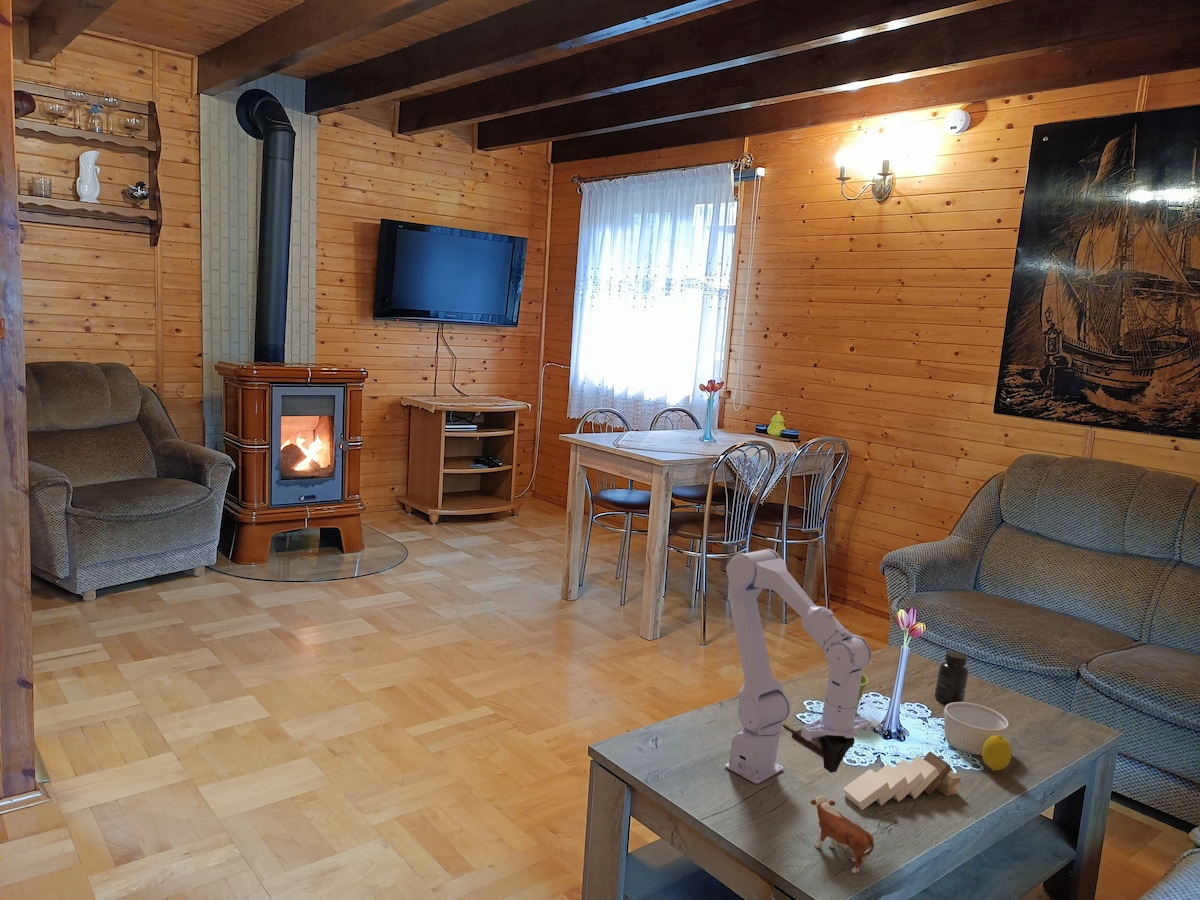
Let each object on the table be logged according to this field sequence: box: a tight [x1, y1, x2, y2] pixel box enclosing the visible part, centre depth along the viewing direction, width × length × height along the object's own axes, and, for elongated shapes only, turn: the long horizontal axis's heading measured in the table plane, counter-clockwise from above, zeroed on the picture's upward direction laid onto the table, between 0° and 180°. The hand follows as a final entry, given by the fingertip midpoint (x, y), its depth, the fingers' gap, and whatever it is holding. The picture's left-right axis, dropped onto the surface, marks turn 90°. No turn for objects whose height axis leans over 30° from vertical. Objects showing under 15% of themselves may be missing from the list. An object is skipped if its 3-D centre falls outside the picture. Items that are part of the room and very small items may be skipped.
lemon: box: [981, 735, 1012, 772], centre depth 182 cm, size 6×6×8 cm
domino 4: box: [907, 755, 939, 800], centre depth 171 cm, size 2×5×7 cm
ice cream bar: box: [782, 721, 823, 757], centre depth 188 cm, size 5×2×15 cm
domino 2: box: [874, 763, 908, 806], centre depth 168 cm, size 2×5×7 cm
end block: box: [935, 770, 962, 797], centre depth 174 cm, size 3×7×4 cm, turn 25°
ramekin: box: [943, 701, 1009, 757], centre depth 193 cm, size 13×13×7 cm
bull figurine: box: [810, 795, 875, 874], centre depth 148 cm, size 4×13×8 cm, turn 33°
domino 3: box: [892, 759, 924, 803], centre depth 170 cm, size 2×5×7 cm
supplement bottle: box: [934, 650, 970, 705], centre depth 214 cm, size 7×7×12 cm
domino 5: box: [922, 751, 952, 796], centre depth 173 cm, size 2×5×7 cm
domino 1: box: [842, 768, 890, 811], centre depth 166 cm, size 2×5×7 cm
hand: (829, 769), depth 161 cm, fingers closed
